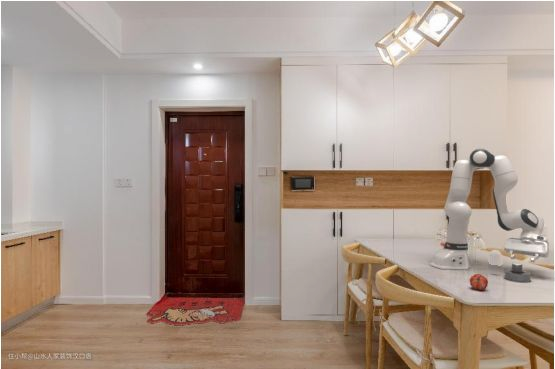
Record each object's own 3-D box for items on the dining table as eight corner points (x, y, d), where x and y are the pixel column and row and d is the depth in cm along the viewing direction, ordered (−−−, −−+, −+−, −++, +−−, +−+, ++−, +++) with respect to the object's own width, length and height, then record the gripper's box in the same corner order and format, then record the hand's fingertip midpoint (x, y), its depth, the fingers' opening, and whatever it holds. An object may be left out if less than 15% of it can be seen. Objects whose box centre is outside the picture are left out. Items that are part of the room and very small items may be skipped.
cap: (516, 280, 185) (516, 265, 185) (509, 278, 190) (509, 263, 190) (524, 280, 186) (524, 264, 186) (517, 278, 190) (517, 262, 190)
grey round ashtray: (516, 282, 182) (516, 274, 182) (499, 277, 192) (499, 269, 192) (535, 282, 183) (535, 274, 183) (518, 276, 194) (518, 269, 194)
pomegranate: (469, 291, 174) (465, 281, 168) (474, 277, 177) (470, 268, 171) (486, 296, 169) (482, 286, 163) (491, 282, 172) (487, 272, 166)
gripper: (506, 233, 205) (499, 253, 199) (550, 238, 189) (543, 259, 183) (509, 241, 208) (502, 260, 202) (552, 246, 192) (546, 267, 186)
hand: (522, 259), depth 192 cm, fingers open, 8 cm apart
